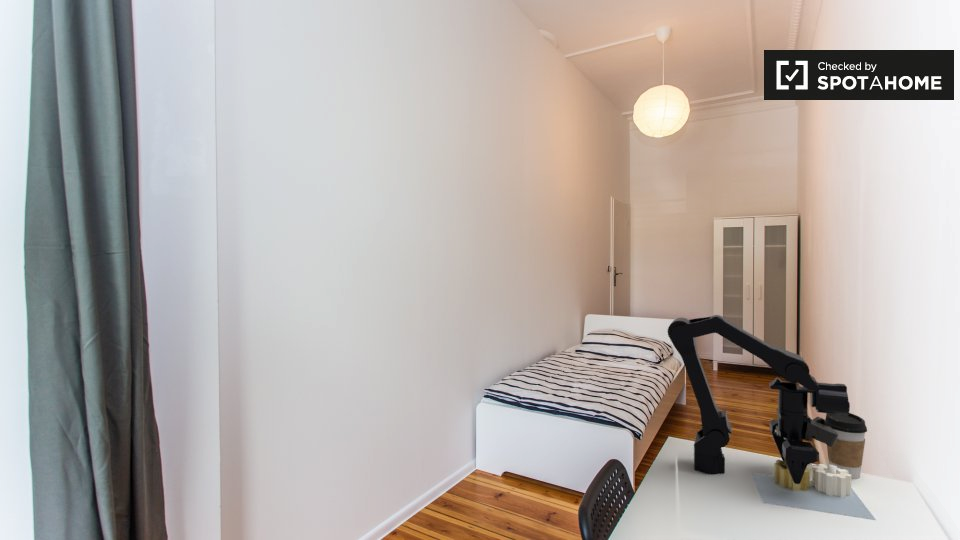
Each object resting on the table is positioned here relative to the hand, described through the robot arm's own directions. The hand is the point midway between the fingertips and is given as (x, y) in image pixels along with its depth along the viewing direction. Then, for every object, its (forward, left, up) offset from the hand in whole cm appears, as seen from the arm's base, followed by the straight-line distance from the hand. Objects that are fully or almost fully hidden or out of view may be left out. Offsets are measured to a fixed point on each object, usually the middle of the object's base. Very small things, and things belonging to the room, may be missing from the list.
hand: (791, 474), depth 112 cm
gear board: (+2, -4, -3) cm, 6 cm away
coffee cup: (+13, +10, -3) cm, 17 cm away
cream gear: (+8, 0, -2) cm, 8 cm away
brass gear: (0, 0, -2) cm, 2 cm away
